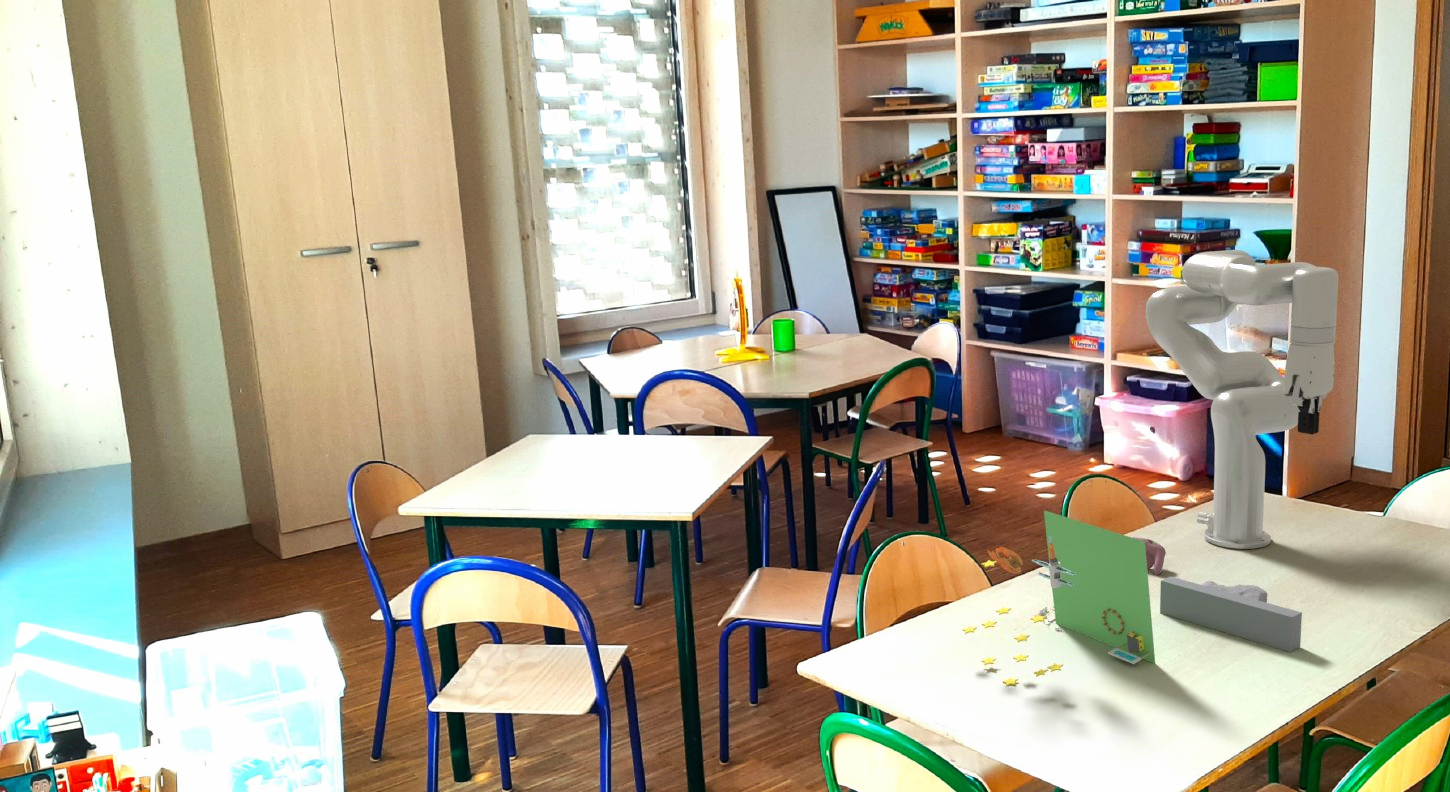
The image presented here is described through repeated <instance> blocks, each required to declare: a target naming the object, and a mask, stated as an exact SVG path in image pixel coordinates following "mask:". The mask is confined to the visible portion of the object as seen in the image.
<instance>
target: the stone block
mask: <svg viewBox="0 0 1450 792" xmlns="http://www.w3.org/2000/svg"><path fill="white" fill-rule="evenodd" d="M1200 585H1203V586H1207V587H1211V588H1214V589H1218V590H1222V591H1225V592H1229V593H1233V594H1236V595H1240V596H1244V597H1247V598H1251V599H1255V600H1258V601H1262V602H1266V603H1268V592H1267V591H1266V590H1264V588H1261V587H1260V586H1258V585H1254V584H1237V585H1230V586H1228V585H1223V584H1218V583H1216V582H1215V581H1211V580H1208V581H1204V582H1202V584H1200Z"/></svg>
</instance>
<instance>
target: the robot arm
mask: <svg viewBox="0 0 1450 792" xmlns="http://www.w3.org/2000/svg"><path fill="white" fill-rule="evenodd" d="M1181 277H1182V280H1183V282H1184V283H1185V285H1178V286H1170V287H1165V288H1162V289H1159V290H1158V291H1155V292H1154V293H1152V294H1151V295H1150V297H1149V298H1148V299H1147V301H1146V305H1145V319H1146V323H1147V327H1148V329H1149V333H1150V334H1151V336H1152V337H1153V339H1154V341H1155V342H1156V343H1157V345H1159V347H1161V349H1162V350H1163V351H1164V352H1166V354H1167V355H1168V356H1170V357H1171V358H1172V359H1173V360H1174V362H1175V363H1176V364H1177V366H1178V367H1179V368H1180V370H1181V371H1182V372H1183V374H1184V375H1185V376H1186V378H1187V379H1188V381H1190V382H1191V384H1192V385H1193V387H1194V388H1195V389H1196V390H1197V392H1198V393H1199V394H1200V395H1201V396H1202V397H1203V398H1205V399H1207V400H1212V403H1211V406H1210V419H1211V424H1212V429H1213V430H1212V431H1213V437H1214V478H1213V481H1214V482H1213V504H1212V505H1213V509H1212V514H1211V513H1209V512H1207V511H1199V512H1198V514H1197V517H1196V522H1197V524H1201V525H1206V526H1207V529H1206V530H1205V531H1204V534H1203V535H1204V539H1205V540H1206V541H1207V542H1208V543H1210V544H1212V545H1215V546H1218V547H1223V548H1229V549H1237V550H1238V549H1239V550H1251V549H1258V548H1264V547H1266V546H1268V545H1270V543H1271V538H1272V537H1271V534H1269V533H1268V532H1267V531H1265V530H1264V512H1265V511H1264V507H1265V487H1266V486H1265V481H1266V454H1265V452H1264V450H1263V447H1261V445H1260V443H1259V442H1258V440H1257V436H1258V435H1264V434H1271V433H1272V434H1273V433H1280V432H1285V431H1289V430H1292V429H1293V428H1295V427H1297V432H1298V433H1300V434H1307V435H1315V434H1317V433H1319V431H1320V430H1319V429H1320V412H1321V410H1322V405H1323V400H1325V399H1326V398H1327V397H1328V394H1329V393H1330V392H1331V391H1333V389H1334V384H1335V383H1334V382H1335V347H1334V345H1335V344H1336V332H1337V315H1338V300H1339V299H1338V296H1339V295H1338V294H1339V277H1340V276H1339V273H1338V271H1337V270H1336V269H1334V268H1331V267H1325V266H1317V265H1314V264H1312V263H1309V262H1304V261H1297V262H1295V261H1294V262H1283V263H1282V262H1281V263H1268V264H1266V263H1265V264H1257V263H1256V262H1255V259H1254V258H1253V257H1252V255H1251V254H1249V253H1248V252H1247V251H1244V250H1242V249H1229V250H1228V249H1227V250H1215V251H1204V252H1199V253H1196V254H1193V255H1192V256H1190V257H1189V258H1188V259H1187V260H1186V261H1185V262H1184V264H1183V266H1182V270H1181ZM1238 304H1241V305H1247V306H1248V305H1249V306H1268V305H1269V306H1270V305H1277V304H1278V305H1279V304H1280V305H1281V304H1291V313H1290V314H1291V316H1290V332H1289V333H1290V336H1289V337H1290V338H1289V343H1290V344H1289V346H1288V351H1287V354H1286V355H1287V356H1286V358H1285V359H1286V361H1285V368H1284V374H1283V375H1284V376H1283V375H1282V373H1281V372H1280V371H1279V370H1278V369H1277V368H1276V366H1275V365H1274V364H1273V363H1272V362H1271V361H1270V359H1269V358H1267V357H1266V356H1265V355H1263V354H1262V353H1259V352H1256V351H1235V352H1227V351H1222V350H1221V349H1220V348H1219V347H1218V346H1217V344H1215V342H1214V341H1213V339H1212V338H1210V337H1209V336H1208V335H1207V334H1206V333H1205V332H1202V330H1199V329H1197V328H1195V327H1193V326H1194V325H1201V324H1203V325H1204V324H1214V323H1218V322H1221V321H1223V320H1225V319H1226V318H1228V317H1229V316H1230V314H1231V313H1232V312H1233V311H1234V310H1235V308H1236V307H1237V306H1238Z"/></svg>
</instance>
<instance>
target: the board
mask: <svg viewBox="0 0 1450 792" xmlns="http://www.w3.org/2000/svg"><path fill="white" fill-rule="evenodd" d="M1159 593H1160V596H1159V597H1160V599H1159V600H1160V601H1159V602H1160V603H1159V604H1160V605H1159V606H1160V607H1159V613H1160V614H1163V615H1165V616H1168V617H1173V618H1175V619H1180V620H1182V621H1185V622H1186V621H1187V622H1189V623H1193V624H1196V625H1200V626H1202V627H1206V628H1209V629H1212V630H1216V631H1219V632H1222V633H1225V634H1228V635H1233V636H1235V637H1239V638H1242V639H1245V640H1249V641H1252V642H1256V643H1259V644H1262V645H1266V646H1269V647H1272V648H1275V649H1278V650H1282V651H1285V652H1289V653H1292V652H1294V651H1296V650H1298V649H1299V648H1301V642H1302V641H1301V640H1302V639H1301V637H1302V621H1303V619H1302V618H1303V615H1302V614H1303V612H1302V611H1298V610H1294V609H1290V608H1287V607H1283V606H1280V605H1275V604H1273V603H1269V602H1267V603H1266V602H1262V601H1258V600H1255V599H1251V598H1247V597H1244V596H1240V595H1236V594H1233V593H1229V592H1225V591H1222V590H1218V589H1214V588H1211V587H1207V586H1203V585H1201V584H1199V583H1195V582H1191V581H1188V580H1185V579H1181V578H1177V577H1174V576H1168V577H1167V578H1163V579H1161V580H1160V592H1159Z"/></svg>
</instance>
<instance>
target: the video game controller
mask: <svg viewBox="0 0 1450 792" xmlns="http://www.w3.org/2000/svg"><path fill="white" fill-rule="evenodd" d="M1132 538H1135V539H1138V540H1141V541H1144V542H1145V548H1146V560H1147V570H1149V569H1152V567H1153V570H1154V575H1156V576H1158V575H1160V574H1161V572H1162V570H1163V566H1164V563H1165V557H1166V553H1167V552H1166V549H1165V547H1163V546H1162V545H1161V543H1159V542H1157V541H1154V540H1152V539H1149V538H1143V537H1136V536H1135V537H1134V536H1133V537H1132Z"/></svg>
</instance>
